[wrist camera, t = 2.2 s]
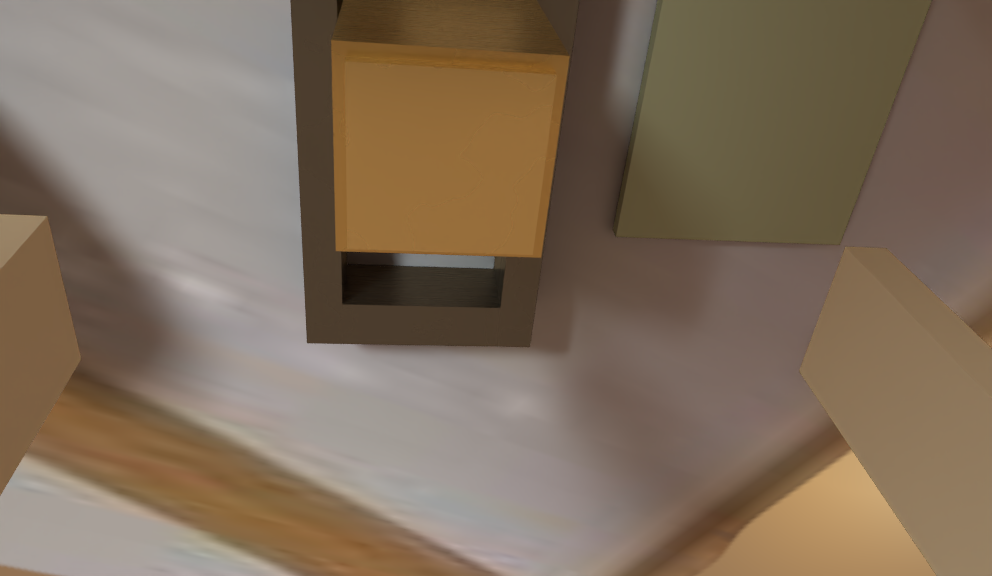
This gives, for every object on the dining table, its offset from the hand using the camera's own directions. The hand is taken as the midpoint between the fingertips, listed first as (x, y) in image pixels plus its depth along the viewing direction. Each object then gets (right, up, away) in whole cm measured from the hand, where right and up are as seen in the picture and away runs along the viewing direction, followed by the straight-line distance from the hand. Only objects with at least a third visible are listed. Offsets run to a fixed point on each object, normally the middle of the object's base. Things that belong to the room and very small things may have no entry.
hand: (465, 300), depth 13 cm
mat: (+11, +8, +17) cm, 22 cm away
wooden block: (-2, +10, +14) cm, 17 cm away
